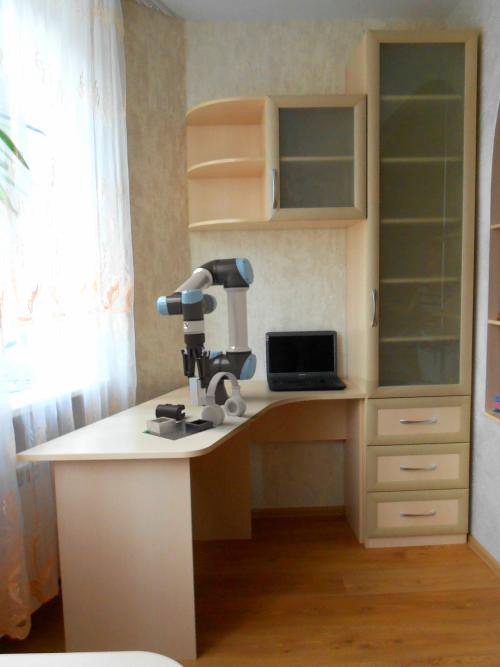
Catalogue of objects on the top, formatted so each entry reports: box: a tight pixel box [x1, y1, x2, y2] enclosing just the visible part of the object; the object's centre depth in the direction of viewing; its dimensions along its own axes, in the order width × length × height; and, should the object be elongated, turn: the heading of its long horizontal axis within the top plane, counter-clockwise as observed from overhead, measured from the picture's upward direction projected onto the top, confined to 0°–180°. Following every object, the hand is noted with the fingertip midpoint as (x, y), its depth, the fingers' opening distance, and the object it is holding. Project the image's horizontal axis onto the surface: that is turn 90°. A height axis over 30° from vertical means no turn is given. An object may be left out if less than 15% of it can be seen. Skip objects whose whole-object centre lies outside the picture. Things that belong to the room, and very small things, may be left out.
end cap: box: [154, 403, 186, 422], centre depth 204 cm, size 10×7×7 cm
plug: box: [188, 375, 206, 407], centre depth 188 cm, size 4×4×10 cm
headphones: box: [201, 372, 247, 427], centre depth 199 cm, size 20×8×19 cm, turn 149°
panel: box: [141, 417, 217, 441], centre depth 187 cm, size 20×18×5 cm
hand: (198, 396), depth 188 cm, fingers closed on plug, 4 cm apart
